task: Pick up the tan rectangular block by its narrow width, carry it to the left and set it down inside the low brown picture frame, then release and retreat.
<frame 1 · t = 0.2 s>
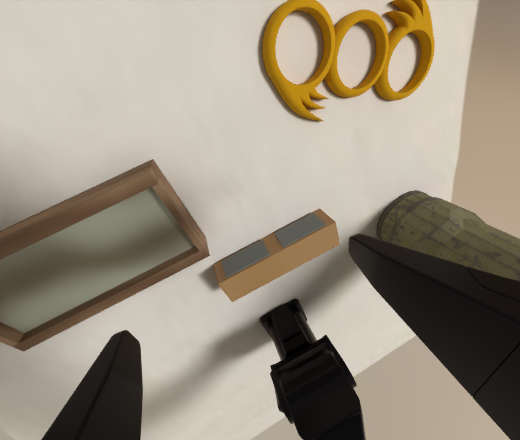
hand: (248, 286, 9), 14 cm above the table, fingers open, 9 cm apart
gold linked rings: (348, 58, 20), on the table
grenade: (401, 216, 33), on the table
brown picture frame: (91, 247, 20), on the table
tan rectangular block: (271, 244, 27), on the table
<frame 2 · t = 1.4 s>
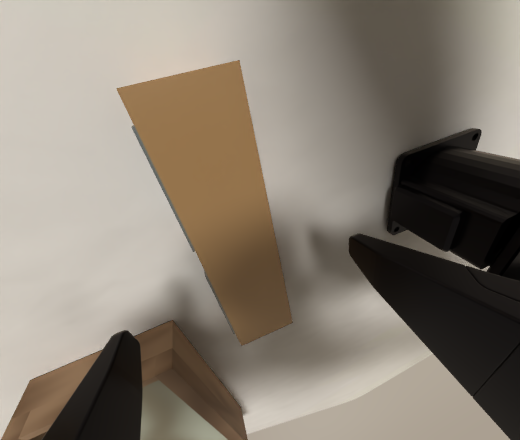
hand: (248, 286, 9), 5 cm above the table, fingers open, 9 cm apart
brown picture frame: (166, 398, 20), on the table
tan rectangular block: (225, 217, 13), on the table
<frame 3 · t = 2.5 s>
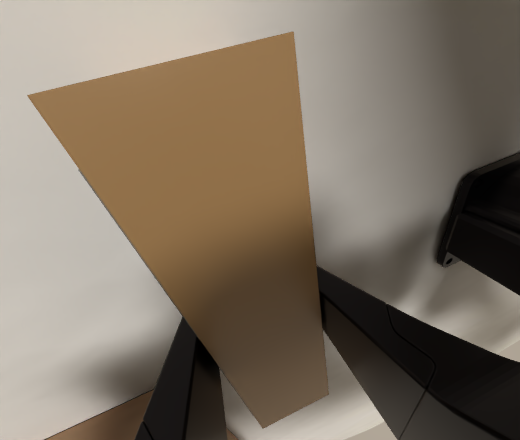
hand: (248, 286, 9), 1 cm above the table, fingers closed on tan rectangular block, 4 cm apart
tan rectangular block: (241, 262, 10), on the table, touching gripper
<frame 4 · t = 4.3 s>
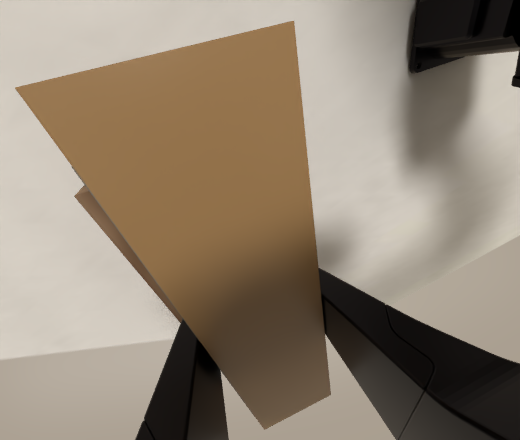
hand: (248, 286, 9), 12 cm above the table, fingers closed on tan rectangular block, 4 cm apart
brown picture frame: (201, 245, 21), on the table
tan rectangular block: (242, 262, 10), point 11 cm above the table, touching gripper
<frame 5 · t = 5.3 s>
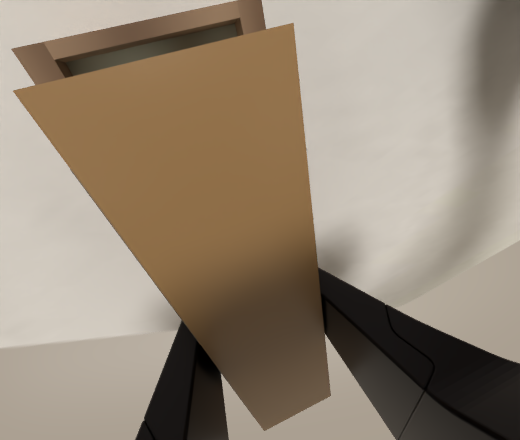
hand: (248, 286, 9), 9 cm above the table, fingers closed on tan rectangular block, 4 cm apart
brown picture frame: (214, 197, 16), on the table
tan rectangular block: (242, 263, 10), point 8 cm above the table, touching gripper
when the fingers open (4 cm above the table, at t = 6.3 s): tan rectangular block stays where it is, resting on brown picture frame.
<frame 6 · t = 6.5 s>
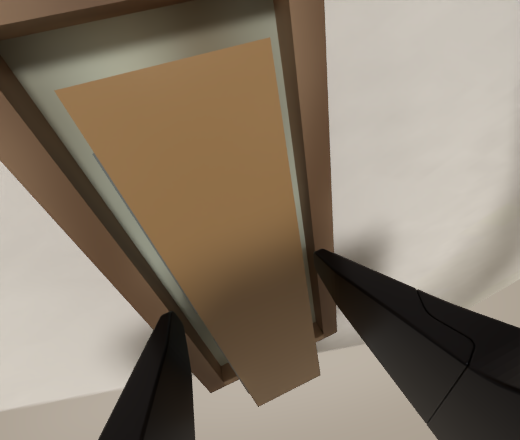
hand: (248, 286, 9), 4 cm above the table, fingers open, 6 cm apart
brown picture frame: (226, 228, 12), on the table
tan rectangular block: (237, 249, 10), point 2 cm above the table, touching brown picture frame
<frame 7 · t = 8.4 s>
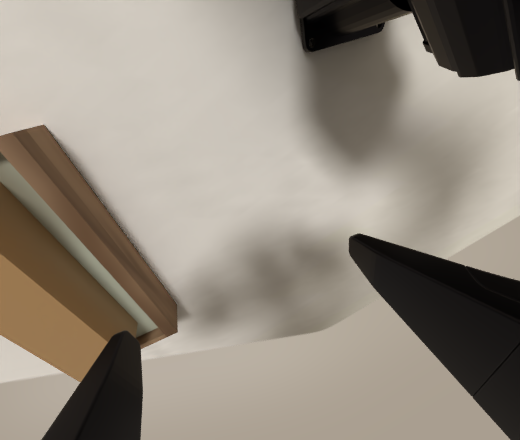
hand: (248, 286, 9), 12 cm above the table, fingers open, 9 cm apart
brown picture frame: (70, 261, 17), on the table
tan rectangular block: (59, 279, 16), point 2 cm above the table, touching brown picture frame
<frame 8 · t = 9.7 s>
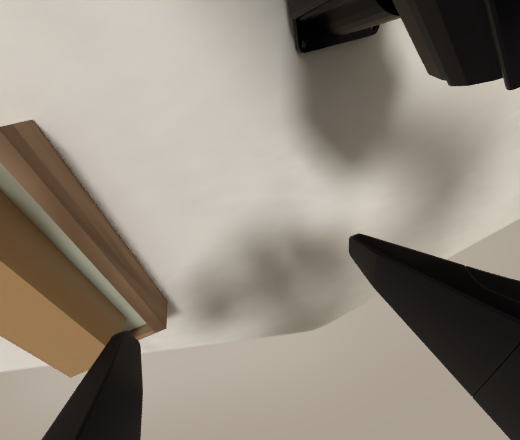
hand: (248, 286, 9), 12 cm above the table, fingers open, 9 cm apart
brown picture frame: (60, 255, 18), on the table
tan rectangular block: (47, 273, 16), point 2 cm above the table, touching brown picture frame
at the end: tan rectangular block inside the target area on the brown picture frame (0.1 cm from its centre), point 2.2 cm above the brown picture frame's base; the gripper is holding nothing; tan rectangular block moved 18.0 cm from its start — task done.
